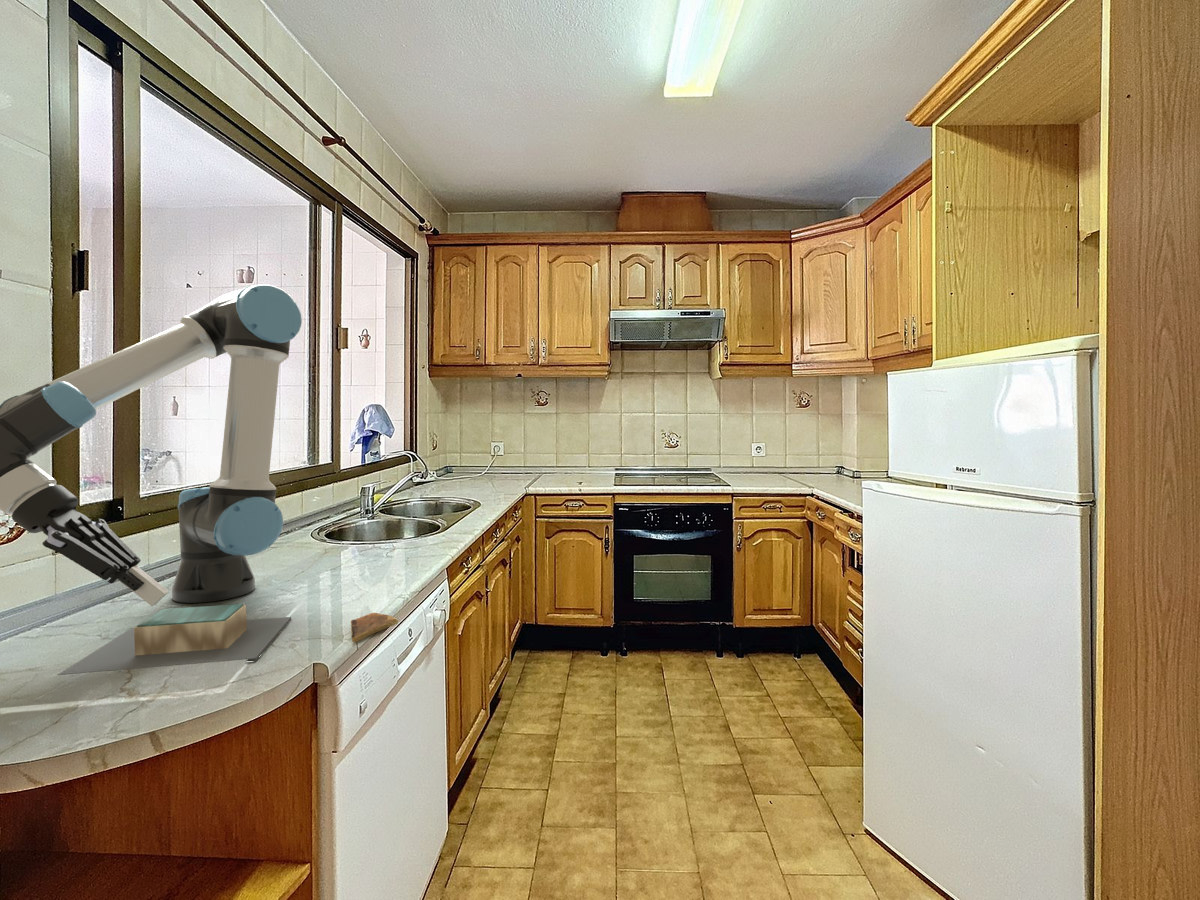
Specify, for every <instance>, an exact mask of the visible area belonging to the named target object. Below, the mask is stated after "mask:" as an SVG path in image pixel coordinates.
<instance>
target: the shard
mask: <svg viewBox="0 0 1200 900" xmlns="http://www.w3.org/2000/svg"><path fill="white" fill-rule="evenodd" d="M398 623H399V620H398V618H396V617H394V616H392V615H388V614H384V613H379V612H371V613H368V614H365V615H364V616H360V617H358V618H355V619H351V620H350V632H351V639H352V642H354V643H357V642H359V641H361V640H363V639H365V638H367V637H368V636H371V635H372V634H376V633H377V632H380V631H383V630H385V629H388V628H390V627H393V626H395V625H398Z"/></svg>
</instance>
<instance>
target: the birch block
mask: <svg viewBox="0 0 1200 900" xmlns="http://www.w3.org/2000/svg"><path fill="white" fill-rule="evenodd" d="M247 620H248V619H247V604H244V603H239V604H238V603H237V604H236V603H235V604H221V605H208V606H207V605H205V606H192V607H177V608H175V607H174V608H163V609H161V610H159V611H157V612H156V613H154V614H153V615H151V616H150V617H148V618H146V619H145V620H143V621H142V622H141V623H139V624H137V625H136V626H135V627H133V628H134V643H135V656H136V655H149V654H161V653H174V652H187V651H199V650H212V649H225V648H228V647H229V646H230V645H231V644H232V643H233V642H234V641H235V640H237V639H238V638H239V637H240V636H241V635H242V634H243V633H244V632H245V631H246V630H247Z"/></svg>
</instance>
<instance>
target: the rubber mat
mask: <svg viewBox="0 0 1200 900" xmlns="http://www.w3.org/2000/svg"><path fill="white" fill-rule="evenodd" d="M291 621H292V616H289V617H288V616H286V617H285V616H283V617H271V618H259V619H258V618H256V619H255V618H254V619H247V630H246V631H245V632H244V633H243V634H242V635H241V636H240V637H239V638H238V639H237V640H235V641H234V642H233V643H232V644H231V645H230V646H229V647H228V648H225V649H212V650H199V651H187V652H174V653H161V654H149V655H136V656H135V643H134V628H135V627H131V628H129V629H127V630H126V631H124V632H123V633H121V634H120V635H118V636H117V637H115V638H114V639H112V640H110V641H108V642H107V643H105V644H104V645H102V646H101V647H99V648H97V649H95V651H93V652H91V653H90V654H88V655H87V656H85V657H84V658H82V659H80V660H79V661H77V662H75V663H73V664H72V665H71V666H69V667H67V668H66V669H65V670H64V669H63V671H61V672H60V673H58V674H57V676H61V675H72V674H73V675H74V674H83V673H84V674H85V673H95V672H108V671H122V670H132V669H146V668H155V667H157V668H158V667H169V666H180V665H192V664H193V665H194V664H203V663H204V664H205V663H215V662H216V663H217V662H218V663H219V662H229V661H239V660H241V661H243V660H246V661H256V660H257V659H258V658H259V656H260V655H261V654H262V653H263V652H264V651H265V652H266V651H267V649H268V648H269V647H270V646H271V645H272V643H273V642H274V641H276V639H277V638H276V637H279V635H280V634H281V633H282V632H283V631H284V630H285V628H286V627H287V626H288V625H289V623H290V622H291ZM281 631H282V632H281ZM270 644H271V645H270ZM269 645H270V646H269ZM268 646H269V647H268ZM266 648H267V649H266ZM265 652H264V653H265ZM264 653H263V654H264ZM263 654H262V655H263ZM262 655H261V656H262ZM261 656H260V657H261ZM259 659H260V658H259ZM259 659H258V660H259ZM258 660H257V661H258ZM257 661H256V662H257Z"/></svg>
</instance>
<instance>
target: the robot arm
mask: <svg viewBox="0 0 1200 900" xmlns="http://www.w3.org/2000/svg"><path fill="white" fill-rule="evenodd" d="M302 319H303V318H302V313H301V310H300V308H299V305H298V304H297V302H296V301H295V300H294V298H292V296H291V295H290V294H288V292H286V291H285V290H284V289H282V288H280V287H277V286H274V285H272V284H252V285H248V286H245V287H244V288H242V289H238V290H234V291H231V292H227V293H225V294H222V295H221V296H219V297H217V298H215V299H214V300H212V301H210V302H209V303H208V304H206V305H204V306H202V307H201V308H199V309H197V310H196V311H193V312H191V313H189V314H187V315H184V316H183V317H181V319H180V323H179V324H178V325H175V326H172V327H171V328H168V329H167V330H164V331H162V332H160V333H157V334H155V335H153V336H151V337H148V338H147V339H143V340H142V341H139V342H137V343H135V344H133V345H130V346H128V347H125V348H124V349H121V350H119V351H117V352H115V353H112V354H110V355H108V356H106V357H104V358H101V359H98V360H97V361H94V362H92V363H89V364H88V365H85V366H83V367H80V368H78V369H76V370H73V371H71V372H70V373H67V374H65V375H63V376H60V377H58V378H56V379H53V380H51V381H49V382H47V383H46V384H44V385H40V386H38V387H36V388H33V389H32V390H31V389H30V390H29V391H27V392H24V393H22V394H20V395H14V396H12V397H10V398H7V399H6V400H3V401H2V403H1V404H0V511H1V512H3V513H4V514H5V515H8V516H9V515H10V516H11V519H12V521H14V522H15V523H16V524H17V525H18V526H20V527H22V528H23V529H24V530H26V532H28V533H30V534H38V533H41V532H42V533H43V534H44V535H46V536H47V538H46V539H45V540H44V541H43V542H42V543H41V544H42V545H43V547H44V548H47V549H49V550H52V551H54V552H57V553H59V554H60V555H62V556H64V557H65V558H67V559H69V560H70V561H72V562H74V563H75V564H77V565H79V566H80V567H82V568H83V569H85V570H87V571H89V572H90V573H91V574H93V575H95V576H97V577H98V578H100V579H102V580H104V581H107V580H108V581H107V583H109V584H113V583H115V582H116V581H117V580H118V581H119V582H120V583H121V584H123V585H124V586H125V587H126V588H127V589H129V590H130V591H131V592H133V593H134V594H135V595H137V596H138V597H140V599H142V600H143V601H144V602H146V603H147V604H148V605H150V606H151V607H154V606H155V605H157V604H158V603H159V602H160V601H161V600H162V599H163V598H164V597H165V596H166V595H168V593H169V592H170V591H169V590H168V589H167V588H166V587H164V586H163V585H162V584H160V583H159V582H158V581H156V579H154V578H153V577H152V576H150V575H149V574H147V573H146V572H145V571H144V570H143V569H141V568H140V567H139V566H138V565H139V563H141V559H140V557H139V556H138V555H137V554H136V553H135V552H134V551H133V550H132V549H131V548H130V547H129V546H128V545H127V544H126V543H125V542H124V541H123V540H122V539H121V538H120V537H119V536H118V535H117V534H116V533H115V532H114V531H113V529H111V528H110V527H109V525H108V523H107V522H106V520H105V519H102V518H98V519H97V521H93V520H92V519H90V518H89V517H88V516H87V515H85V514H84V513H81V512H80V511H78V510H77V505H78V504H79V498H78V497H77V496H75V495H74V493H72V492H71V491H70V490H68V488H66V487H64V486H63V485H61V484H57V480H56V479H55V478H54V477H52V476H51V475H50V474H49V473H47V472H46V471H45V470H43V469H42V468H41V467H40V466H38V465H37V463H34V462H33V461H32V460H30V457H32V456H34V455H36V454H38V453H39V452H40V451H42V450H43V449H45V448H47V447H49V446H51V445H53V443H55V442H58V441H59V440H60V439H61V438H62V439H63V437H65V436H67V435H69V434H70V433H72V432H73V431H76V430H77V429H82V427H83V426H84V425H85V424H86V423H88V422H89V421H92V419H93V418H95V417H96V416H97V410H99V409H101V408H103V407H105V406H107V405H109V404H111V403H113V402H115V401H117V400H119V399H122V398H123V397H125V396H127V395H129V394H132V393H134V392H136V391H137V390H140V389H142V388H144V387H146V386H148V385H150V384H152V383H154V382H156V381H159V380H160V379H162V378H165V377H166V376H168V375H171V374H172V373H175V372H177V371H179V370H180V369H183V368H185V367H187V366H189V365H190V364H191V365H192V364H193V363H195V362H197V361H199V360H201V359H203V358H207V359H211V360H212V359H215V358H217V357H219V356H221V355H223V354H226V353H227V355H228V356H229V357H230V359H231V360H230V368H229V369H230V370H229V377H228V388H227V398H226V410H225V411H226V412H225V420H224V429H223V441H222V452H221V459H220V460H221V464H220V471H219V472H220V473H219V477H218V478H217V479H216V480H214V481H213V482H212V483H211V484H209V486H207V487H199V488H189V489H184V490H182V491H181V492H180V493H179V495H178V504H177V509H178V523H179V524H178V525H179V527H178V528H179V544H180V545H179V548H180V551H179V552H180V562H179V565H178V569H177V571H176V575H175V578H174V581H173V582H172V588H171V598H172V600H173V601H174V602H177V603H183V604H185V603H186V604H197V603H199V604H200V603H208V602H209V603H210V602H211V603H212V602H218V601H224V600H228V599H233V598H237V597H238V598H239V597H240V596H243V595H246V594H249V593H251V592H253V591H254V590H255V589H256V578H255V575H254V573H253V571H252V568H251V567H250V564H249V561H248V559H247V556H253V555H256V554H257V555H258V554H260V553H262V552H264V551H266V550H267V549H268V548H270V547H271V546H272V545H273V544H275V543H276V541H277V540H278V538H279V537H280V535H281V533H282V530H283V526H284V518H283V517H284V516H283V513H282V510H281V509H280V508H279V506H278V505H277V504H276V496H277V487H276V486H275V484H273V482H271V481H270V469H271V468H270V467H271V459H272V449H273V448H272V447H273V438H274V427H275V419H276V418H275V415H276V406H277V405H276V404H277V394H278V385H279V373H280V372H279V371H280V365H281V364H282V363H283V362H284V361H286V360H288V359H289V356H290V355H289V354H290V346H291V341H292V340H293V339H294V338H295V337H296V336H297V335H298V334H299V332H300V330H301V327H302Z"/></svg>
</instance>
